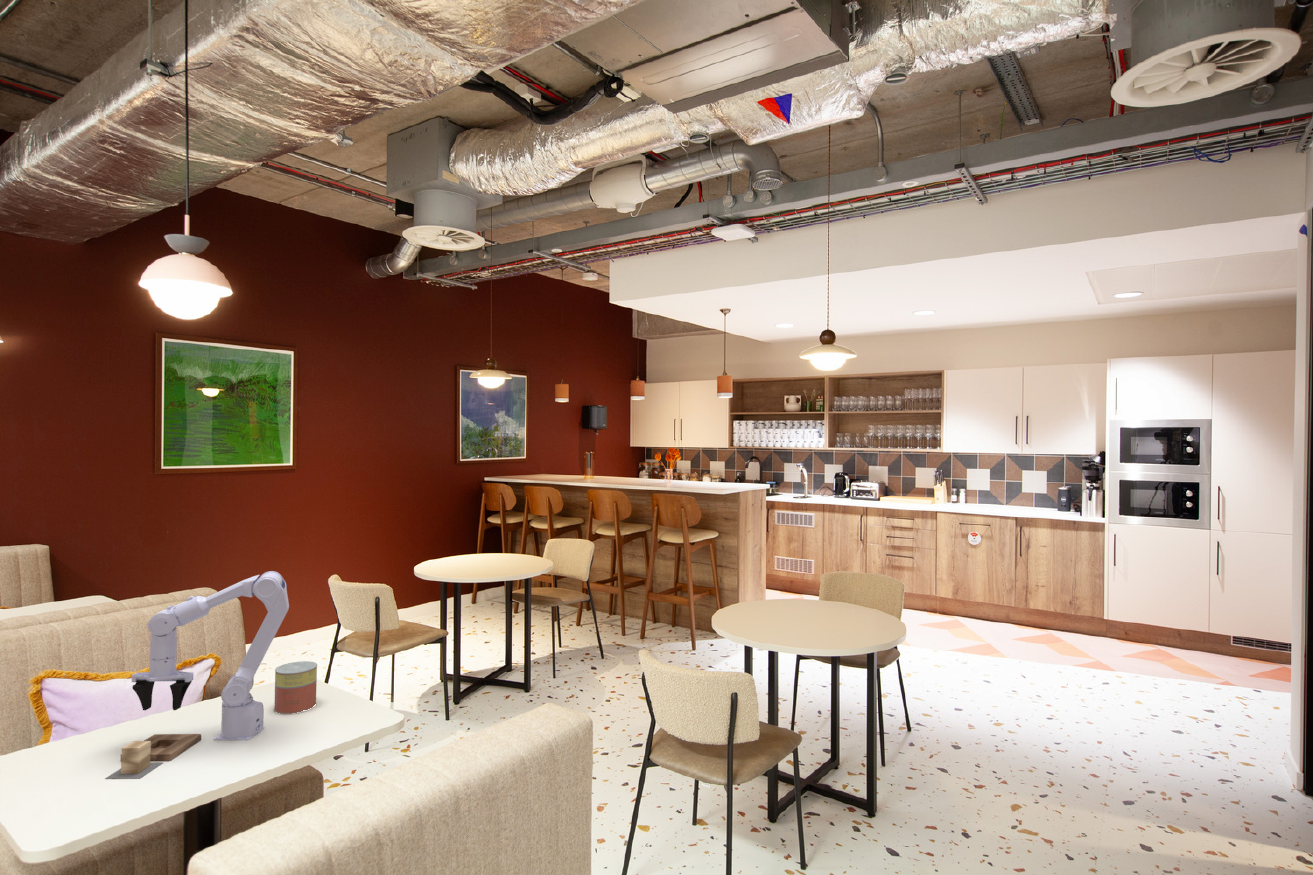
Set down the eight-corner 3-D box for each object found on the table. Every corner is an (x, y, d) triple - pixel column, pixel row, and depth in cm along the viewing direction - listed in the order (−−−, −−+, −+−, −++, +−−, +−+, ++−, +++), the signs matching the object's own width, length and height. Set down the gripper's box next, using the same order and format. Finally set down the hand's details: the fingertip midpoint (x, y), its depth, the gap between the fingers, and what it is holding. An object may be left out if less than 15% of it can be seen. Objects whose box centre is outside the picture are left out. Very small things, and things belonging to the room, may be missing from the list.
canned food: (324, 700, 208) (324, 662, 209) (301, 715, 197) (302, 674, 197) (289, 699, 209) (290, 660, 210) (265, 713, 198) (266, 672, 198)
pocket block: (201, 741, 179) (201, 733, 179) (170, 762, 167) (170, 754, 167) (154, 741, 178) (154, 734, 178) (120, 762, 166) (120, 754, 166)
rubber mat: (163, 764, 166) (163, 762, 166) (140, 780, 158) (140, 778, 158) (130, 764, 165) (130, 762, 165) (104, 780, 157) (104, 778, 157)
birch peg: (150, 765, 164) (150, 740, 164) (138, 773, 160) (139, 748, 160) (133, 765, 164) (133, 740, 164) (120, 773, 160) (121, 748, 160)
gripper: (123, 661, 172) (121, 714, 172) (181, 661, 173) (180, 714, 173) (143, 653, 179) (141, 704, 179) (199, 653, 180) (197, 704, 180)
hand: (161, 708), depth 176 cm, fingers open, 7 cm apart
